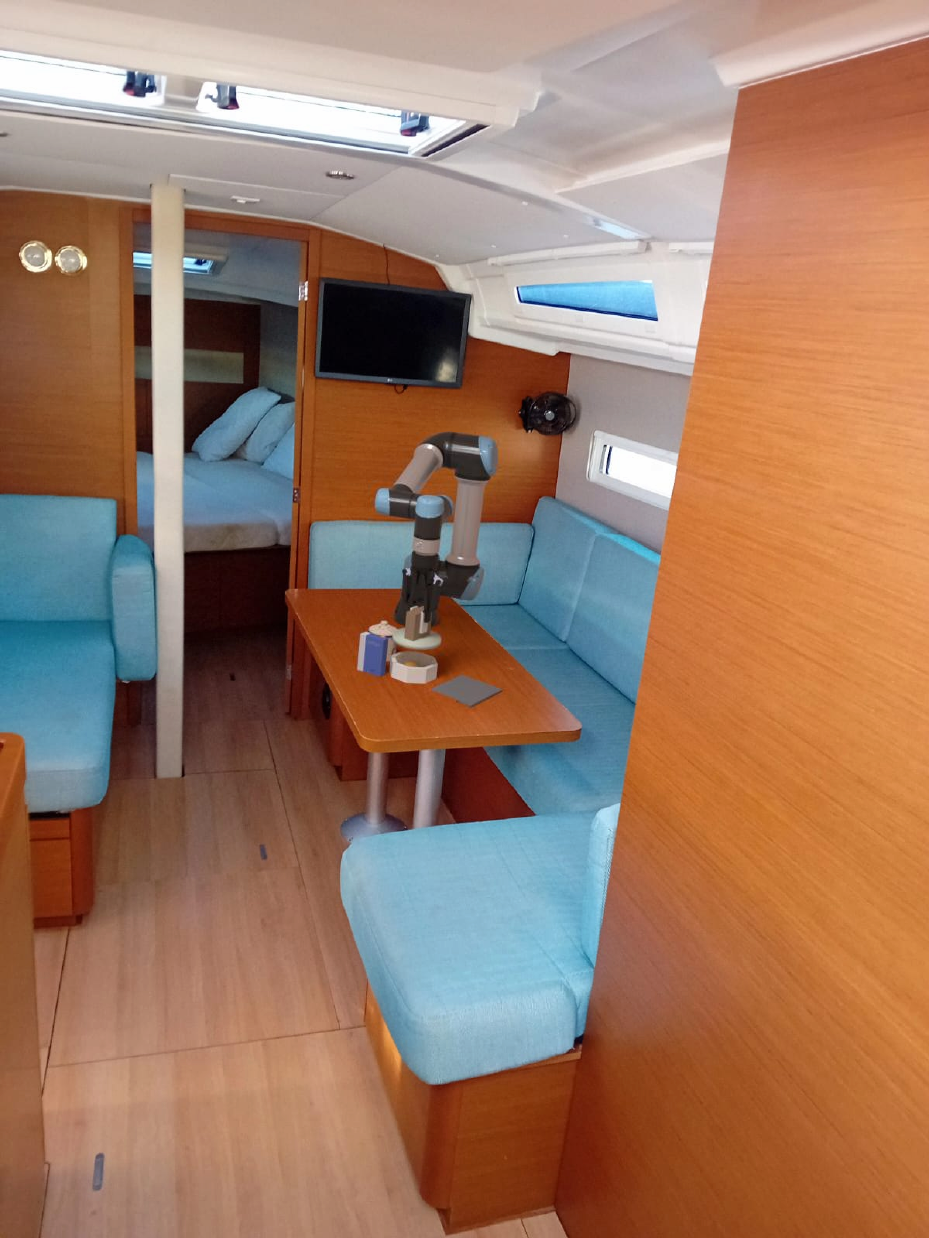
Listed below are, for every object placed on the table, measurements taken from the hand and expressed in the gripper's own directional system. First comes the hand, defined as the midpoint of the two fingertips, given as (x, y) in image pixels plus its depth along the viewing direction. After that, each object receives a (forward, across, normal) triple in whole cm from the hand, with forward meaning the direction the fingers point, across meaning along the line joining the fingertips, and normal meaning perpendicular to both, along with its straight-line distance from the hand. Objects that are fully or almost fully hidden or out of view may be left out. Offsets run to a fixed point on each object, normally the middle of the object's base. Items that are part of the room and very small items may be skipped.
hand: (417, 630), depth 267 cm
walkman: (+14, -9, -9) cm, 19 cm away
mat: (+14, +17, +2) cm, 22 cm away
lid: (+3, 0, 0) cm, 3 cm away
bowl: (+14, 0, -1) cm, 14 cm away
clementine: (+13, 0, -1) cm, 14 cm away
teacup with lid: (+14, -16, +4) cm, 22 cm away
